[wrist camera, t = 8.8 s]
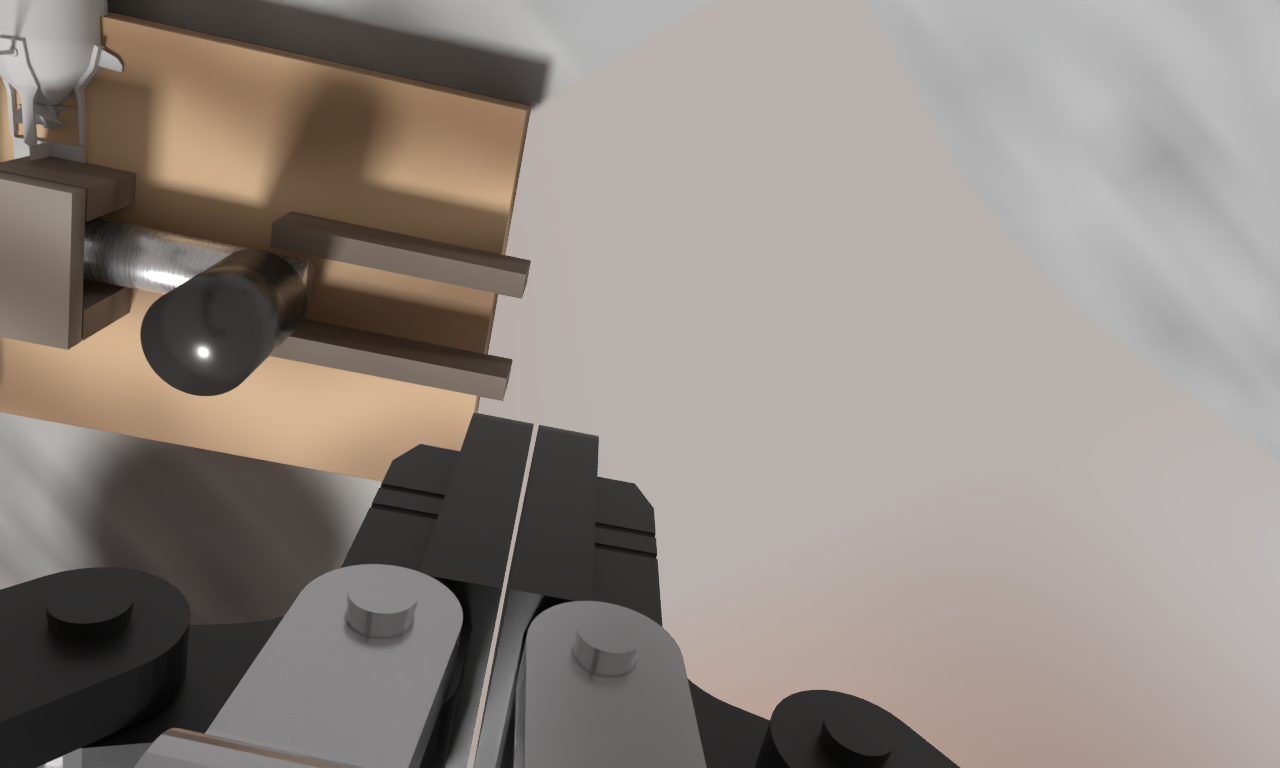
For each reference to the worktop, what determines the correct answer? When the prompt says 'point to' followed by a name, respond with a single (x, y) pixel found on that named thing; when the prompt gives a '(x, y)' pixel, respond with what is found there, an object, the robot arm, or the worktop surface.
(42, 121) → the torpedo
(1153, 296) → the worktop surface
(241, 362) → the bolt
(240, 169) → the lock plate
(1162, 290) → the worktop surface
